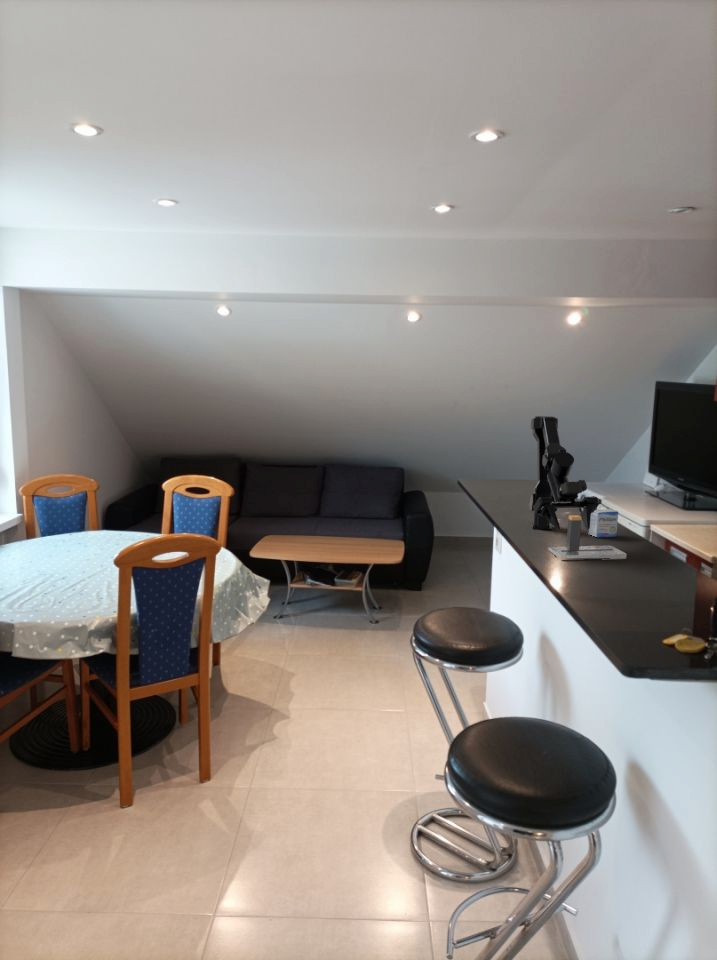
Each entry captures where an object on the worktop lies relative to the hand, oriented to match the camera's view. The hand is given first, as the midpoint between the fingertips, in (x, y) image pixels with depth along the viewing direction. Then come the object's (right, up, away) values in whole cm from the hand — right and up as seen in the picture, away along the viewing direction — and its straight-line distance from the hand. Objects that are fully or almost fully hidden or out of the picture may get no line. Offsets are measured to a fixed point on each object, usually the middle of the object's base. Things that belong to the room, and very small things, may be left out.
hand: (573, 529), depth 191 cm
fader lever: (0, -6, +1) cm, 6 cm away
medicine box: (+18, -4, +24) cm, 30 cm away
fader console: (+4, -8, +2) cm, 9 cm away
